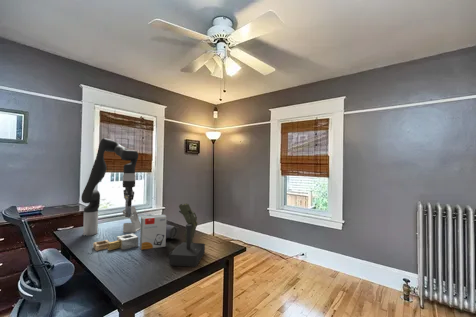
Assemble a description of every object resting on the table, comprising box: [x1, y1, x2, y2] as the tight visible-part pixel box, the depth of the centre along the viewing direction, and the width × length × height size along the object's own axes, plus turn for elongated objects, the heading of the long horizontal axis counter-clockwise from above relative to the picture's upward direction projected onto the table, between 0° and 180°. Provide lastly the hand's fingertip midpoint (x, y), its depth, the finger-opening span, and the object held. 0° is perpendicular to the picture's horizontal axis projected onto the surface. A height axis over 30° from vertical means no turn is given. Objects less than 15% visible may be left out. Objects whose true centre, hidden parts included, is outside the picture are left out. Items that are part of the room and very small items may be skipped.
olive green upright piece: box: [178, 203, 198, 243], centre depth 150 cm, size 14×7×30 cm, turn 71°
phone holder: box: [122, 205, 141, 234], centre depth 187 cm, size 17×10×18 cm, turn 176°
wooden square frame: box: [92, 239, 110, 252], centre depth 148 cm, size 8×8×3 cm
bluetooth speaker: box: [166, 224, 178, 240], centre depth 169 cm, size 23×9×10 cm, turn 68°
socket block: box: [116, 233, 139, 251], centre depth 151 cm, size 10×10×6 cm
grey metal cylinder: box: [124, 195, 133, 218], centre depth 151 cm, size 4×4×14 cm
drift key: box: [107, 240, 120, 251], centre depth 146 cm, size 2×9×4 cm, turn 135°
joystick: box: [168, 223, 206, 268], centre depth 132 cm, size 19×17×20 cm
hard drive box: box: [139, 214, 167, 251], centre depth 151 cm, size 16×8×20 cm, turn 117°
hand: (128, 205), depth 151 cm, fingers closed on grey metal cylinder, 3 cm apart
